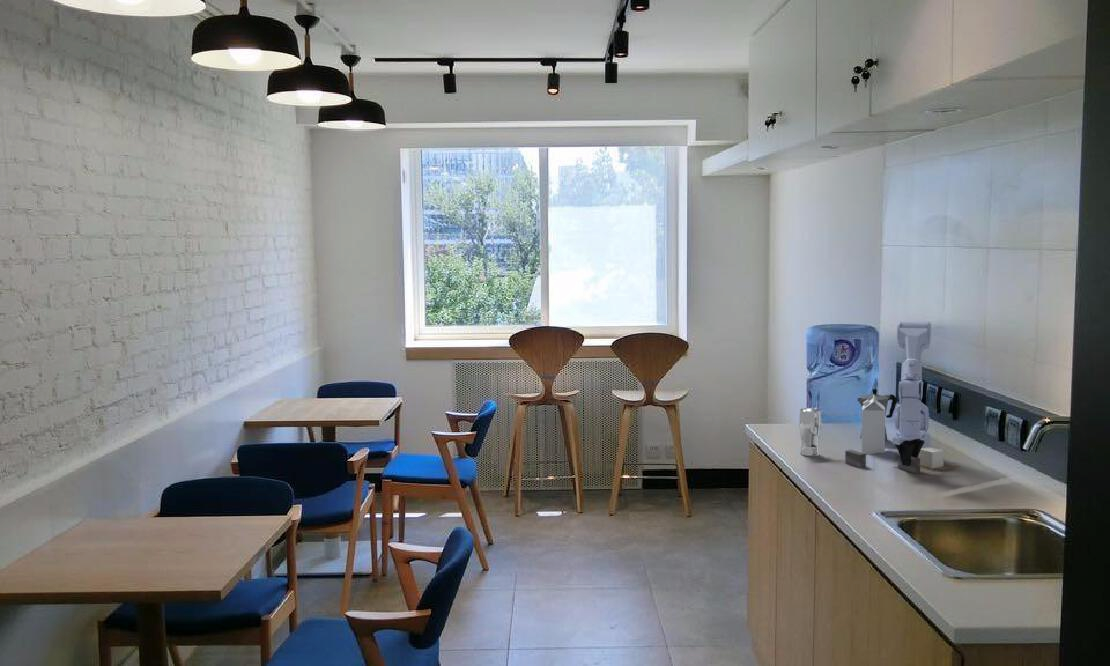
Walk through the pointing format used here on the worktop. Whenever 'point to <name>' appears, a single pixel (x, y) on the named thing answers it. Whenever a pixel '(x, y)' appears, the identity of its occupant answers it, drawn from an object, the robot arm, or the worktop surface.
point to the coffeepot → (883, 401)
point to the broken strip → (855, 458)
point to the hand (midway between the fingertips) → (909, 464)
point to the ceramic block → (931, 457)
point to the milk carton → (873, 427)
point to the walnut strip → (919, 469)
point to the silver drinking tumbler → (810, 431)
